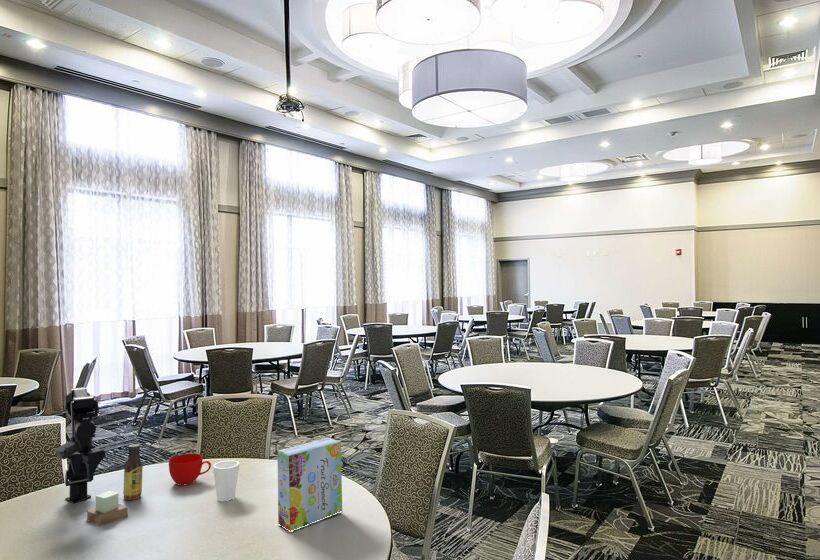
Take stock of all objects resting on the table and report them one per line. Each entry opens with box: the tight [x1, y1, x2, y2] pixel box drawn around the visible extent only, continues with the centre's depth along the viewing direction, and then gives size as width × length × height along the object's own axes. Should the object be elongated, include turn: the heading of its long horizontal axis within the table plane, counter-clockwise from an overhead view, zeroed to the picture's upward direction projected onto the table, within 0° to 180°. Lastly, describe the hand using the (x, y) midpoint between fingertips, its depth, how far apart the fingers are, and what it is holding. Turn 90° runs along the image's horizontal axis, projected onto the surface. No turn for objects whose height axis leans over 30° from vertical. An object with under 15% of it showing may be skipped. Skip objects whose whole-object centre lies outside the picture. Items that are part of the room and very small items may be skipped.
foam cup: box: [212, 459, 240, 503], centre depth 196 cm, size 10×9×13 cm
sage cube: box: [95, 490, 119, 513], centre depth 179 cm, size 5×5×5 cm
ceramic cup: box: [168, 453, 212, 486], centre depth 212 cm, size 13×17×10 cm
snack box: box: [277, 437, 343, 531], centre depth 178 cm, size 22×9×26 cm, turn 134°
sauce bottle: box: [122, 443, 144, 501], centre depth 197 cm, size 7×6×20 cm
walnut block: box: [86, 503, 129, 527], centre depth 179 cm, size 9×9×4 cm
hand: (82, 475), depth 184 cm, fingers open, 9 cm apart
